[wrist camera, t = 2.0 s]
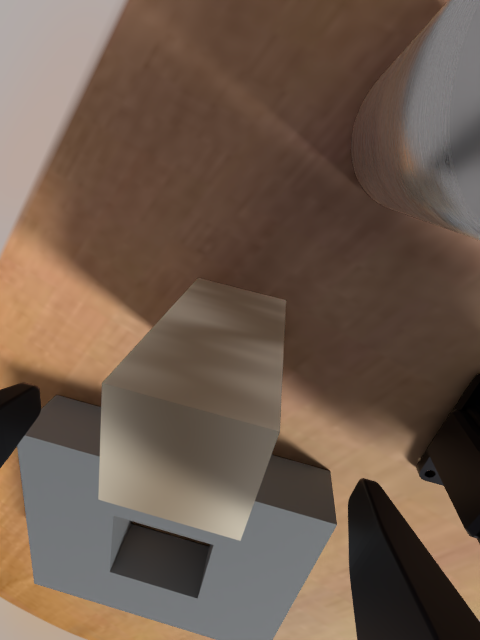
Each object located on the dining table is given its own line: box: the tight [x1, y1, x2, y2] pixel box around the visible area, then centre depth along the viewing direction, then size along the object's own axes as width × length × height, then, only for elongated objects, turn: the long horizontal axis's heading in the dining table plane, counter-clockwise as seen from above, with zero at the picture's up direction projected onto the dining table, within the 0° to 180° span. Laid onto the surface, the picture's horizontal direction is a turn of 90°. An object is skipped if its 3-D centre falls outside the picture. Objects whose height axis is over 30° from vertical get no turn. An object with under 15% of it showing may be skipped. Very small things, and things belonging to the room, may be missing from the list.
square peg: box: [98, 278, 286, 541], centre depth 11 cm, size 4×4×8 cm
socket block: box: [17, 395, 337, 640], centre depth 20 cm, size 16×14×3 cm
